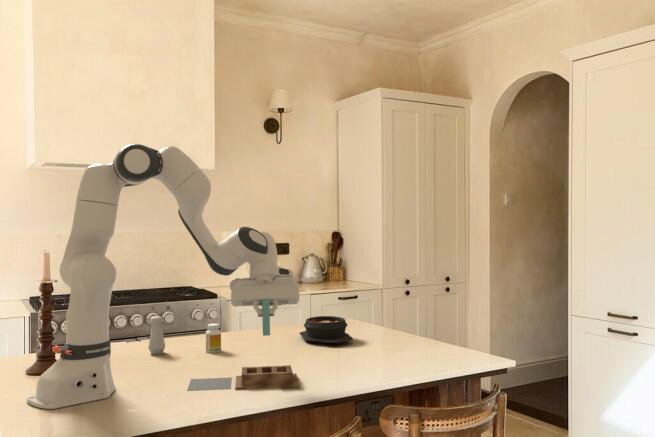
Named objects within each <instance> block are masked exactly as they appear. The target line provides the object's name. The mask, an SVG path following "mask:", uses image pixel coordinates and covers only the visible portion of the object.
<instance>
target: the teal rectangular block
mask: <svg viewBox="0 0 655 437" xmlns="http://www.w3.org/2000/svg"><path fill="white" fill-rule="evenodd" d="M270 306H271V305H269V299H262V305H261V309H262V312H263V317H262V318H261V319H262V322H261V323H262V336H271V322H270V321H271V320H270V319H271V316H270Z"/></svg>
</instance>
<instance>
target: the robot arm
mask: <svg viewBox="0 0 655 437" xmlns="http://www.w3.org/2000/svg"><path fill="white" fill-rule="evenodd" d="M151 179H155V180H157V181H159V182H160V183H161V184H163V185H164V186H165V187H166V189H167V190H168V191H170V193H171V194H172V195H173V197H174V198H175V200H176V202H177V205H178V213H177V214H178V216H179V218H180V220H181V222H182V224H183V225H184V227H185V229H186V230H187V231H188V233H189V234H190V235H191V237H192V239H193V240H194V241H195V243H196V245H197V247H198V248H199V249H200V251H201V252H202V254H203V255H204V259H206V262H207V264H208V266H209V268H210V269H211V271H212V272H214V273H216V274H218V275H221V276H231V275H232V274H233V273H234V272H236V271H237V270H238V269H239V268H240V267H242V265H244V264H246V263H248V264H249V277H243V278H239V277H238V278H234V279H233V280H231V281H230V283H229V290H231V292H230V304H231V305H232V306H233V307H253V309H254V310H255V312H256V313H257V317H258V318H261V317H263V312H262V308H260V307H259V306H261V307H262V299H269V305H270V306H272V307H271V308H270V317H275V312H276V310H277V309H278V306H281V305H283V306H284V305H285V306H286V305H297V304H298V303H299V302H300V289H299V286H298V285H299V284H298V282H297V280H296V279H295V278H294V271H293V270H292V269H290V268H289V269H288V268H284V267H280V266H278V264H277V262H278V249H277V246H276V245H277V244H276V241H275V238H274V237H273V235H272V234H270V233H268V232H266V231H259V230H257V229H255V228H252V227H249V226H241V227H239V228H238V229H236V230H235V231H234V232H232V233H230V234H229V236H227V237H226V238H224V239H223V240H222V241H220V242H218V241H217V240H216V238H215V237H214V236H213V234H212V233H211V231H210V230H209V228H208V227H207V225H206V223H205V221H204V219H203V212H204V210H205V207H206V205H207V203H208V202H209V199H210V196H211V192H212V186H211V180H210V179H209V178H208V176H207V175H206V173H205V172H204V171H203V170H202V169H201V168H200V166H198V165H197V164H196V162H195V161H194V160H193V159H191V157H190V156H189V155H187V154H186V153H185V152H183V151H182V150H181V149H180V148H178V147H177V146H173V145H169V146H165V147H163V148H162V149H159V150H157V149H156V148H155V149H154V148H152V147H149V146H146V145H143V144H140V143H131V144H127V145H125V146H123V147H122V148H121V149H120V150H119V151H118V152H117V154H116V155H115V157H114V159H113V161H112V162H111V163H107V164H106V163H105V164H104V163H94V164H91V165H89V166H88V167H87V166H86V168H85V170H84V171H83V174H82V177H81V179H80V183H79V187H78V191H77V195H76V201H75V207H74V214H73V220H72V225H71V231H70V233H69V236H68V237H69V238H68V240H67V243H66V246H65V249H64V252H63V253H64V254H63V258H62V260H61V262H60V265H59V275H60V277H61V281H62V282H63V283H64V284H65V285H66V286H67V287H69V288H70V293H69V295H70V296H69V302H68V308H67V311H66V314H65V332H66V334H65V337H66V340H65V343H64V345H63V346H61V345H60V346H59V345H56V344H55V345H54V346H53V347H52V352H53V353H54V354H59V355H60V356H59V358H58V359H57V360H56V361H55V362H54V363H53V364H52V365H51V366H49V367H48V368H47V369H46V371H44V372H43V373H42V374H41V375H40V376H39V377H38V380H37V385H36V390H35V391H36V392H35V393H33V394H30V395H28V396H27V400H26V401H27V402H26V403H28V404H29V405H31V406H33V407H35V408H40V409H46V410H54V409H59V408H65V407H70V406H74V405H78V404H79V405H80V404H84V403H89V402H93V401H99V400H100V401H101V400H104V399H109V398H110V397H111V394H113V393H114V392H115V391H116V386H115V382H114V377H113V374H112V369H111V368H112V367H111V354H112V353H111V352H112V350H111V348H112V346H111V339H110V337H109V334H110V329H109V326H110V325H109V322H110V321H109V320H110V319H109V317H110V316H109V314H110V304H111V299H112V295H113V294H112V293H113V289H114V288H113V287H114V284H115V282H116V278H117V269H116V267H115V265H114V264H113V262H112V261H111V259H109V258H108V257H107V256H106V252H107V250H108V246H109V245H110V241H111V239H112V237H113V236H114V233H115V227H116V220H117V217H118V216H117V215H118V208H119V200H120V197H121V196H120V195H121V192H122V189H123V187H124V188H126V187H134V186H137V185H139V186H140V185H141V184H144V183H145V182H147V181H149V180H151Z"/></svg>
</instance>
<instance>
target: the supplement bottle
mask: <svg viewBox="0 0 655 437" xmlns="http://www.w3.org/2000/svg"><path fill="white" fill-rule="evenodd" d="M219 328H220V324H219V323H209V324H207V330H206V331H205V352H206V353H208V354H217V353H220V352H221V351H222V331H221V330H220V329H219Z"/></svg>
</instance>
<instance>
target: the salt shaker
mask: <svg viewBox="0 0 655 437" xmlns="http://www.w3.org/2000/svg"><path fill="white" fill-rule="evenodd" d="M163 318H164V317H163V316H158V315H156V316H151V318H150V320H149V322H150V324H151V328H150V329H151V330H150V335H149V336H150V337H149V341H148V350H149V352H150V354H151V355H155V356H159V355H163V353H164V351H165V349H166V342H165V337H164V331H163V325H162V324H163V322H164V319H163Z"/></svg>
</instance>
